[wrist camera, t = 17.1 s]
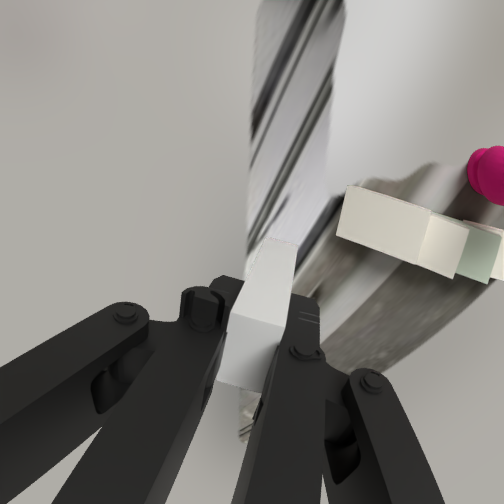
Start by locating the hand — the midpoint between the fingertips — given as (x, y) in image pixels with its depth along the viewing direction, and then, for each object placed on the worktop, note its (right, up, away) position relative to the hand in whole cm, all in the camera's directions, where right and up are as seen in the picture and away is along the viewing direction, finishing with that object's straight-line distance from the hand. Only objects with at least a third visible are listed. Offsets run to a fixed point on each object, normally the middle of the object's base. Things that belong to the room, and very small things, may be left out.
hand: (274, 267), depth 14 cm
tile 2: (+15, +4, +20) cm, 26 cm away
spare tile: (+21, +3, +20) cm, 29 cm away
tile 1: (+10, +6, +21) cm, 24 cm away
